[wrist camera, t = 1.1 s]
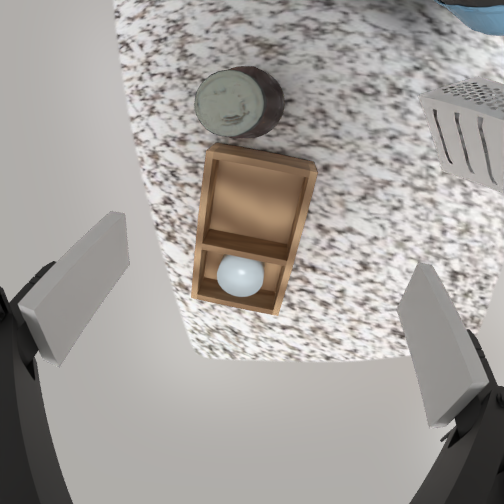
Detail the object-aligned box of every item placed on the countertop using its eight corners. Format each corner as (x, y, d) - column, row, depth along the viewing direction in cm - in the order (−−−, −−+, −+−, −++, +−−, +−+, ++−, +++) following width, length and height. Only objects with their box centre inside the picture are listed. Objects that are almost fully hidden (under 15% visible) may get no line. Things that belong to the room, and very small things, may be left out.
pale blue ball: (224, 240, 42) (219, 253, 39) (268, 249, 42) (267, 263, 39) (219, 277, 45) (214, 291, 42) (260, 285, 45) (258, 300, 42)
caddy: (216, 142, 36) (206, 150, 32) (313, 161, 36) (317, 172, 32) (199, 277, 46) (191, 297, 42) (279, 293, 46) (278, 315, 42)
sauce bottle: (273, 133, 35) (260, 181, 18) (223, 117, 35) (162, 149, 18) (292, 83, 32) (299, 76, 15) (240, 67, 32) (191, 45, 14)
